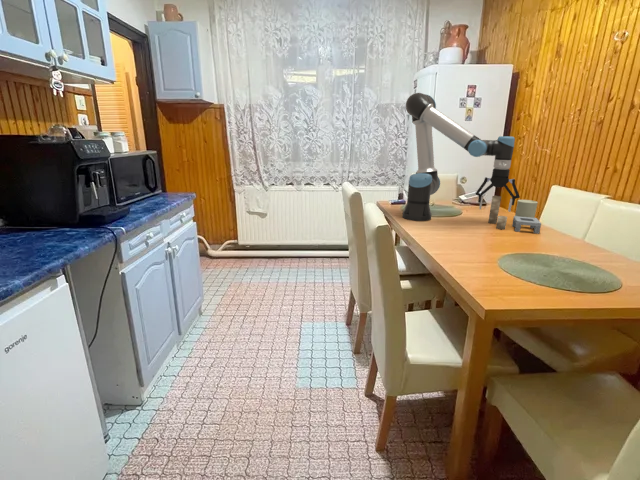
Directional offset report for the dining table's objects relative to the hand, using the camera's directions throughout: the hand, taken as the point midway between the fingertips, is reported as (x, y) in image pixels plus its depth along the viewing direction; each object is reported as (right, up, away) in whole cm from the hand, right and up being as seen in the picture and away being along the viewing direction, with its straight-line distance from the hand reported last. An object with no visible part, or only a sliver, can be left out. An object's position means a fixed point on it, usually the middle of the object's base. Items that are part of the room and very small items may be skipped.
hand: (494, 210), depth 179 cm
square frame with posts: (+10, -10, -10) cm, 17 cm away
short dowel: (-1, -10, -9) cm, 13 cm away
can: (+17, -7, +3) cm, 18 cm away
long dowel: (0, -6, +2) cm, 7 cm away
